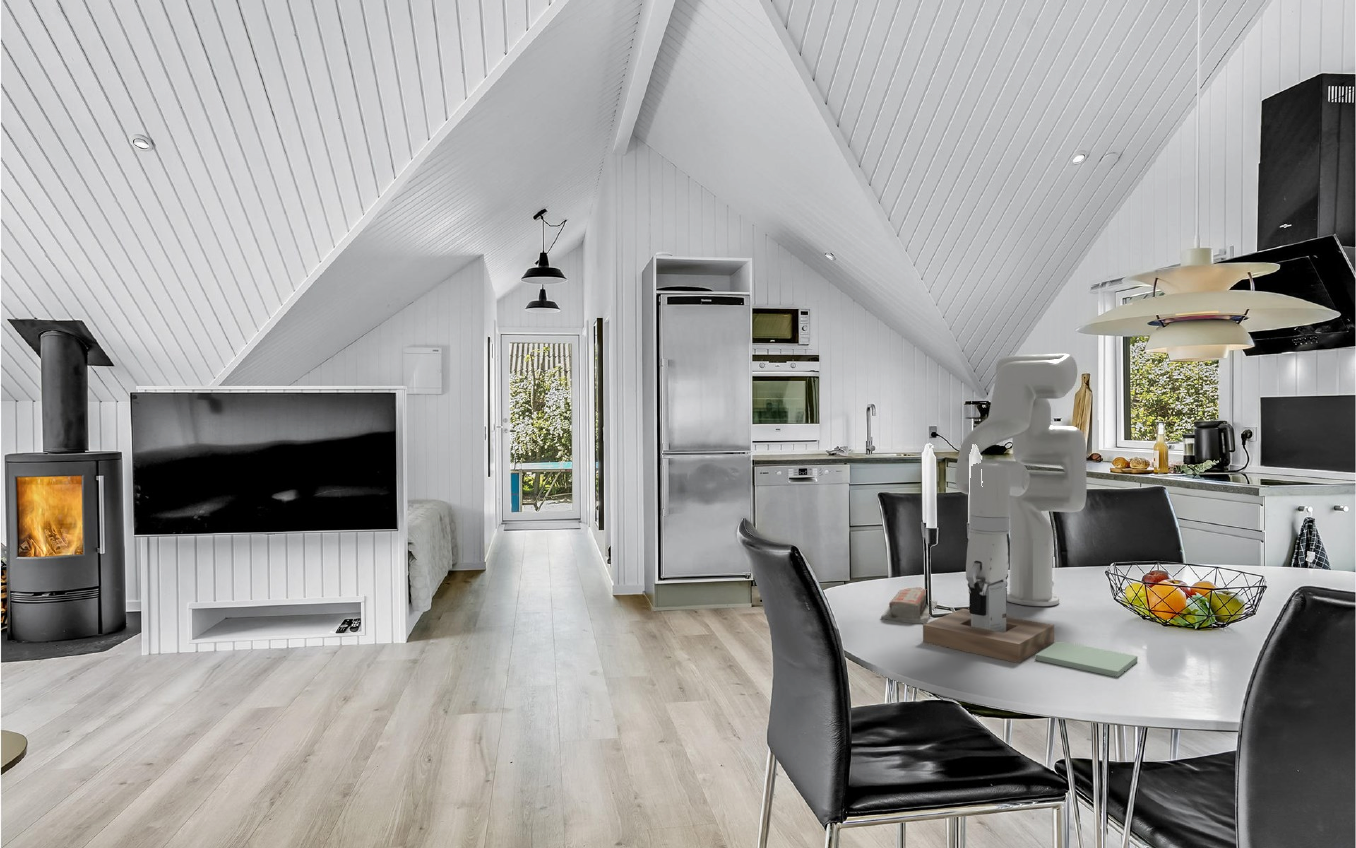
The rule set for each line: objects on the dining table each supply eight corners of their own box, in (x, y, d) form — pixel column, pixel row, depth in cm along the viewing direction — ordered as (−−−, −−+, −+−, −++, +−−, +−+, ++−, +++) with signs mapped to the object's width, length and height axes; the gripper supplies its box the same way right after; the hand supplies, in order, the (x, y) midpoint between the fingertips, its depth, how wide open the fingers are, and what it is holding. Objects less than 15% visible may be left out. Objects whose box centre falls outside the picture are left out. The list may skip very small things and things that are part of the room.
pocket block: (962, 624, 175) (962, 608, 175) (1054, 642, 162) (1054, 625, 162) (922, 642, 162) (923, 624, 162) (1018, 663, 149) (1019, 644, 149)
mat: (1058, 646, 159) (1058, 641, 159) (1137, 661, 150) (1137, 656, 150) (1035, 659, 151) (1035, 654, 151) (1117, 677, 141) (1117, 671, 141)
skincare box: (989, 647, 158) (989, 586, 158) (969, 642, 162) (969, 582, 162) (1007, 642, 162) (1008, 582, 162) (987, 637, 166) (988, 578, 165)
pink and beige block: (927, 604, 175) (880, 600, 180) (927, 626, 175) (880, 621, 180) (937, 587, 192) (894, 583, 196) (937, 607, 192) (894, 603, 196)
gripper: (988, 519, 170) (987, 600, 170) (951, 527, 158) (950, 614, 158) (1025, 522, 165) (1024, 606, 165) (989, 531, 153) (988, 621, 153)
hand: (988, 610), depth 162 cm, fingers open, 9 cm apart
